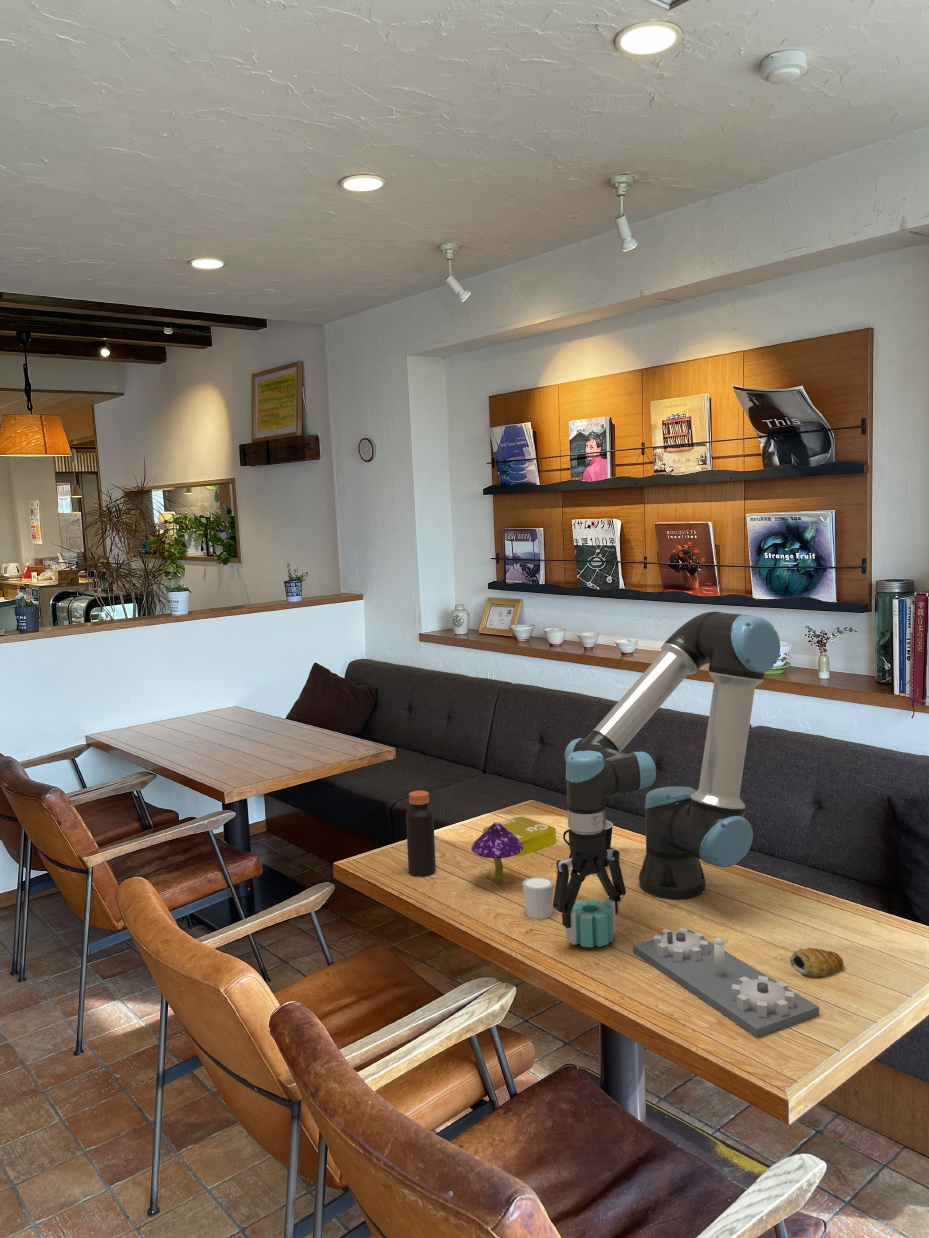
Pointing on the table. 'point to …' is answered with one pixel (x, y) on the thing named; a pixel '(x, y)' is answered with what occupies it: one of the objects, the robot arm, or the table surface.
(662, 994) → the table surface
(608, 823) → the coffee mug
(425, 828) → the bottle
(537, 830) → the element tile
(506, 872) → the table surface
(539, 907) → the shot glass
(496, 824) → the decorative mushroom
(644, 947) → the gear board
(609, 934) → the idler gear
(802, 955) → the pastry
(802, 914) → the table surface
